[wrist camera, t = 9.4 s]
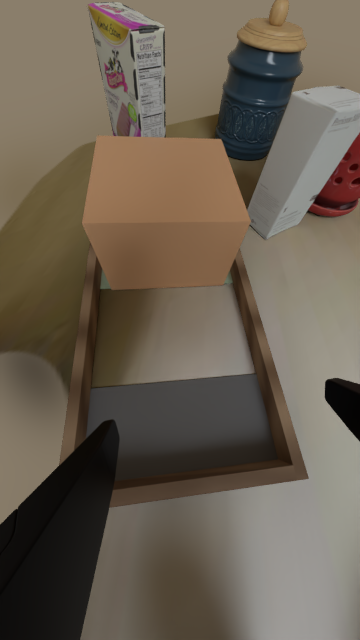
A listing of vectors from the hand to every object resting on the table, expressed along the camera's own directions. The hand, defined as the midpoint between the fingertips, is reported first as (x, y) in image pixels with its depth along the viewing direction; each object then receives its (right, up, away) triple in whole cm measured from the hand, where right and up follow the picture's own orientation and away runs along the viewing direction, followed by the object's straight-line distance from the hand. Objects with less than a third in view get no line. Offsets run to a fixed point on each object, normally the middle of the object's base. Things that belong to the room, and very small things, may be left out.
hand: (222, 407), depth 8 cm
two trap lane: (-3, +8, +18) cm, 20 cm away
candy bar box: (-10, +34, +31) cm, 47 cm away
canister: (+12, +43, +36) cm, 57 cm away
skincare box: (+14, +21, +26) cm, 36 cm away
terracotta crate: (-4, +15, +21) cm, 26 cm away
